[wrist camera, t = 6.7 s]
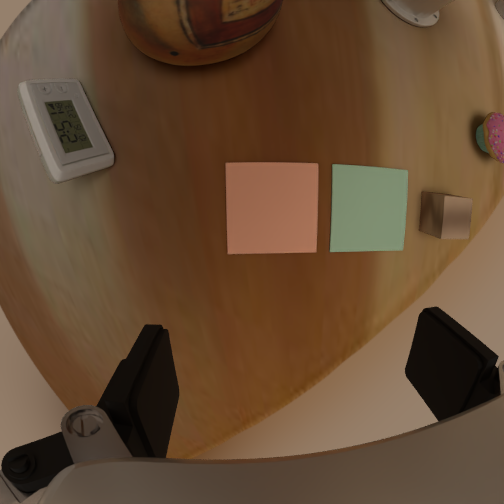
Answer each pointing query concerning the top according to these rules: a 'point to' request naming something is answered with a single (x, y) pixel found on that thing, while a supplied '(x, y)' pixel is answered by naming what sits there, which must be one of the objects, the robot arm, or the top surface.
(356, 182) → the mat
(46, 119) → the digital clock
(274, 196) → the mat
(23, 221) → the top surface
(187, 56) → the ceramic pitcher
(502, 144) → the cupcake
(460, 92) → the top surface
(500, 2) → the house plant
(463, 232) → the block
